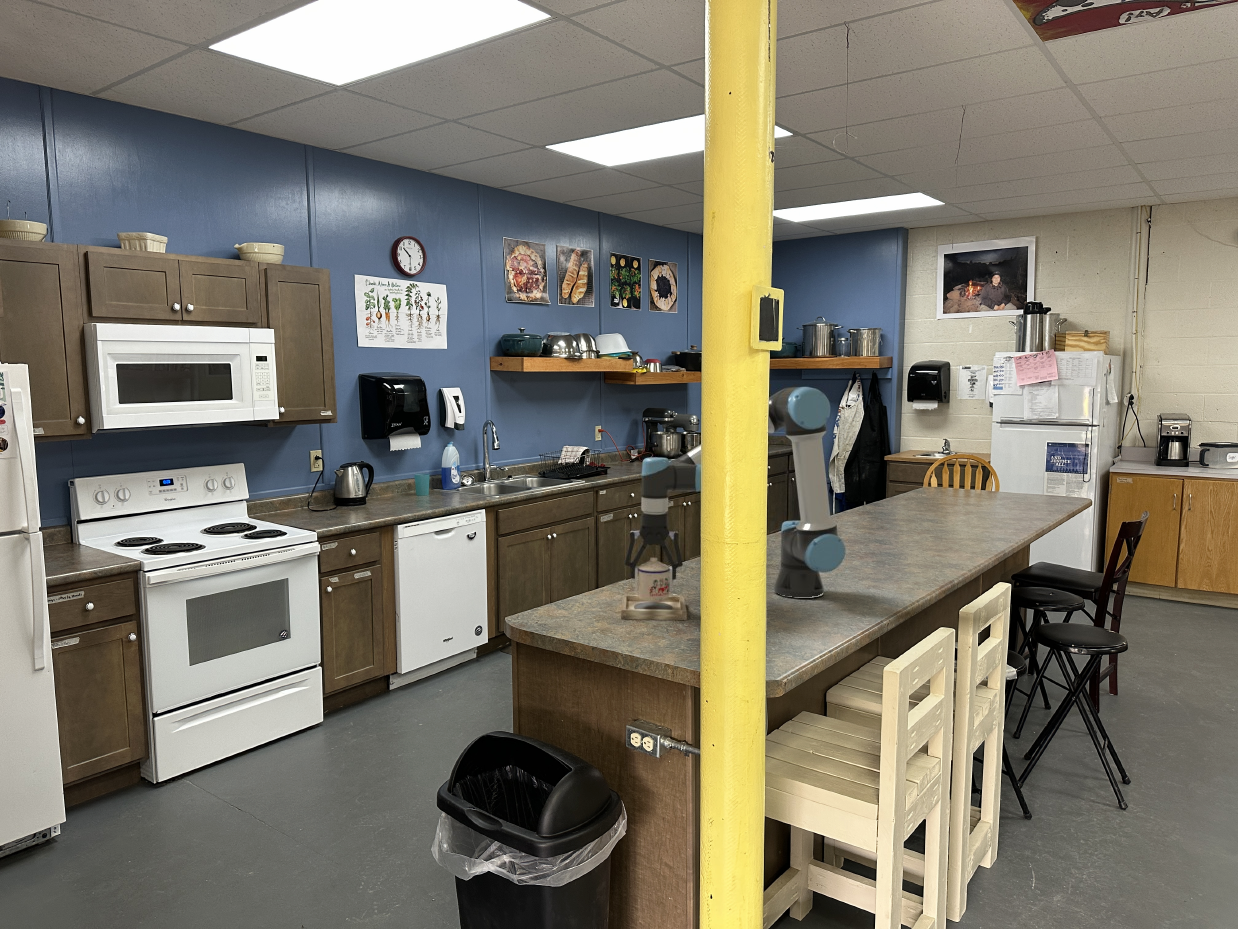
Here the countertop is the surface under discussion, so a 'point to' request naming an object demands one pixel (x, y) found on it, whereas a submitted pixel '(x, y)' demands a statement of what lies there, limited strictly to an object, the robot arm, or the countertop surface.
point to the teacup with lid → (653, 581)
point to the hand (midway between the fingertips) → (653, 590)
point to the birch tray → (653, 608)
